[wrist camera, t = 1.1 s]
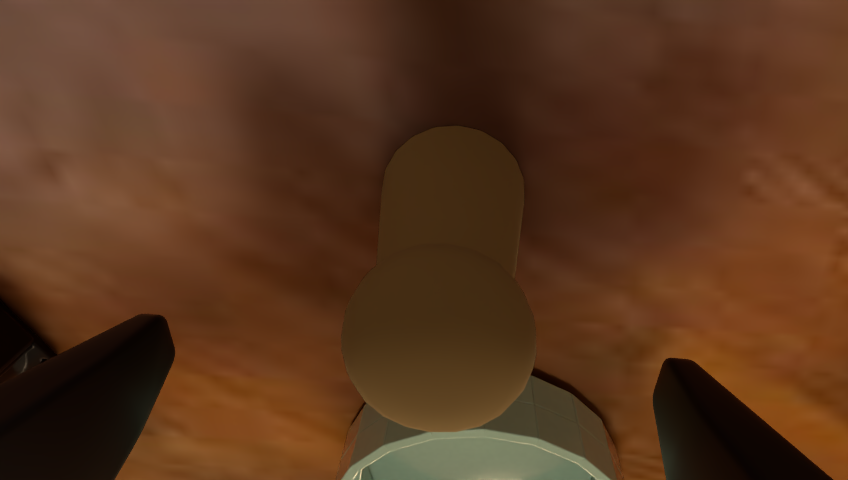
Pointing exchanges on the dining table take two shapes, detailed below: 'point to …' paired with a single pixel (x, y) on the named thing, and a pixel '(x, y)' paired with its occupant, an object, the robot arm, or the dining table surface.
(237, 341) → the dining table surface
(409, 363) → the tan gourd shape
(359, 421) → the pan
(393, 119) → the dining table surface
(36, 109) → the dining table surface
